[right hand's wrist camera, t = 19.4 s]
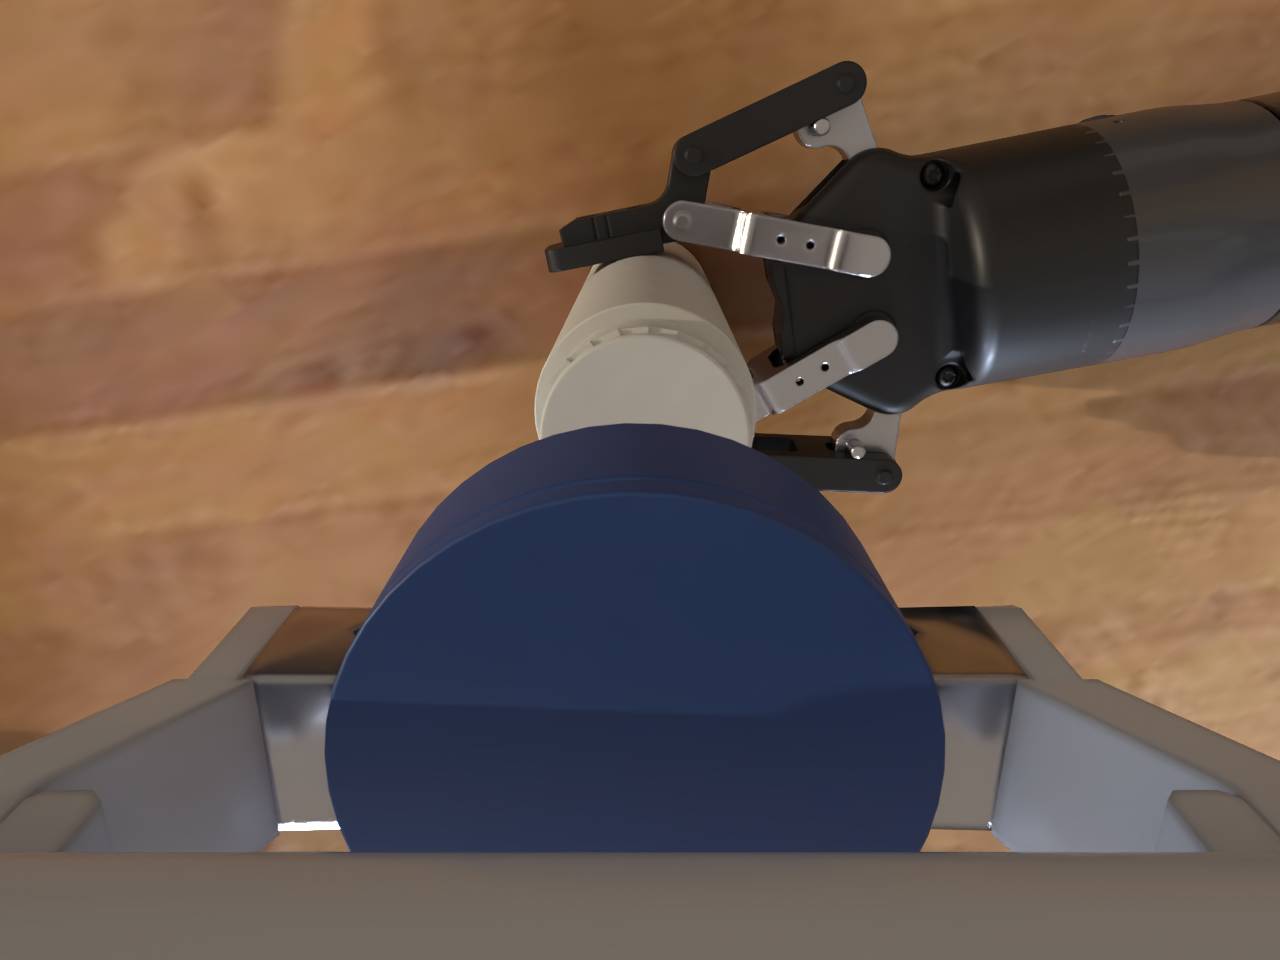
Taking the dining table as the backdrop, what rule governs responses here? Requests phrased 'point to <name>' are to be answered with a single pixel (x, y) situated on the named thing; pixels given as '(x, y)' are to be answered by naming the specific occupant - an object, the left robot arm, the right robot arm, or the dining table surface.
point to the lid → (635, 666)
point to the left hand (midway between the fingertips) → (570, 344)
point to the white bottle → (647, 354)
